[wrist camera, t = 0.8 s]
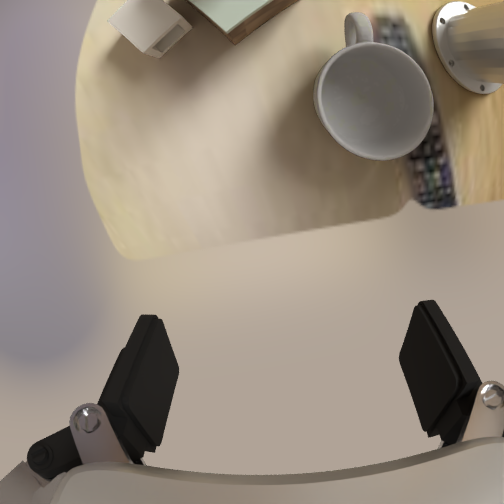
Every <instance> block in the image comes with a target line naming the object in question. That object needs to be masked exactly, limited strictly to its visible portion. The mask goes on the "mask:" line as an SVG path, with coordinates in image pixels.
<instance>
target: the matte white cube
mask: <svg viewBox="0 0 504 504" xmlns="http://www.w3.org/2000/svg"><path fill="white" fill-rule="evenodd" d="M107 22H109V23H110V24H111V25H112V26H113V27H114V28H115V29H117V30H118V31H119V32H120V33H121V34H122V35H123V36H125V37H126V38H127V39H128V40H129V41H130V42H131V43H132V44H133V45H135V46H136V47H137V48H138V49H139V50H140V51H141V52H142V53H144V54H147V55H150V56H152V57H155V58H158V59H159V58H160V57H161V56H162V55H163V54H165V53H166V52H167V51H168V50H169V49H170V48H171V47H172V46H173V45H174V44H175V43H176V42H177V41H178V40H180V39H181V38H182V37H183V36H184V35H185V34H186V33H187V32H189V31H190V30H191V29H192V28H193V27H192V26H191V25H190V24H189V23H188V22H187V21H186V20H185V19H184V18H183V17H182V16H181V15H180V14H179V13H178V12H176V11H175V10H174V9H173V8H172V7H170V6H169V5H168V4H167V3H165V2H164V1H163V0H127V1H126V2H125V3H124V4H123V5H122V6H121V7H120V8H119V9H118V10H117V11H116V12H115V13H114V14H113V15H112V16H111V17H110V18H109V19H108V20H107Z"/></svg>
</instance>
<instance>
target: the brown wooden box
mask: <svg viewBox="0 0 504 504" xmlns="http://www.w3.org/2000/svg"><path fill="white" fill-rule="evenodd" d="M185 1H186V2H187V3H189V4H190V5H191V6H192V7H193V8H195V9H196V10H197V11H198V12H199V13H201V14H202V15H203V16H204V17H205V18H206V19H207V20H209V21H210V22H211V23H212V24H213V25H214V26H215V27H216V28H218V29H219V30H220V31H221V32H222V33H223V34H224V35H225V36H226V37H227V38H228V39H229V40H231V41H232V42H233V43H234V44H235V45H236V44H237V43H239V42H240V41H241V40H243V39H244V38H245V37H246V36H248V35H249V34H250V33H252V32H253V31H254V30H256V29H257V28H258V27H260V26H261V25H262V24H264V23H265V22H267V21H268V20H269V19H271V18H272V17H274V16H275V15H277V14H278V13H280V12H281V11H283V10H284V9H285V8H287V7H289V6H290V5H292V4H293V3H295V2H296V1H298V0H273V1H272V2H270V3H269V4H267V5H266V6H264V7H263V8H261V9H260V10H259V11H257V12H256V13H254V14H253V15H252V16H250V17H249V18H247V19H246V20H245V21H243V22H242V23H241V24H239V25H238V26H237V27H236V28H234V29H233V30H232V31H230V32H229V33H228V34H227V33H226V32H224V31H223V30H222V29H221V28H220V27H219V26H218V25H217V24H216V23H214V22H213V21H212V20H211V19H210V18H209V17H208V16H207V15H205V14H204V13H203V12H202V11H201V10H200V9H198V8H197V7H196V6H195V5H194V4H192V3H191V2H190V1H189V0H185Z"/></svg>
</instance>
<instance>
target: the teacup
mask: <svg viewBox="0 0 504 504" xmlns="http://www.w3.org/2000/svg"><path fill="white" fill-rule="evenodd" d="M344 27H345V42H346V48H344V49H342V50H340V51H338V52H337V53H336V54H334V55H333V56H332V57H331V58H330V59H329V60H328V61H327V62H326V63H325V65H324V66H323V67H322V68H321V70H320V72H319V73H318V75H317V78H316V80H315V84H314V90H313V100H314V106H315V110H316V113H317V115H318V117H319V119H320V121H321V123H322V124H323V126H324V127H325V129H326V130H327V131H328V132H329V133H330V135H331V136H332V137H333V138H334V140H335V141H336V142H337V143H339V144H340V145H341V146H342V147H343V148H345V149H346V150H347V151H349V152H351V153H353V154H355V155H357V156H360V157H362V158H366V159H371V160H379V161H386V160H392V159H396V158H399V157H402V156H404V155H406V154H408V153H410V152H411V151H412V150H414V149H415V148H416V147H417V146H418V145H419V144H420V143H421V142H422V140H423V139H424V138H425V136H426V134H427V133H428V131H429V128H430V125H431V122H432V118H433V112H434V101H433V96H432V91H431V87H430V85H429V82H428V80H427V78H426V76H425V74H424V72H423V70H422V69H421V68H420V67H419V66H418V64H417V63H416V62H415V61H414V60H413V59H412V58H411V57H410V56H408V55H407V54H405V53H404V52H403V51H401V50H399V49H397V48H395V47H392V46H389V45H386V44H381V43H376V42H373V30H372V26H371V23H370V21H369V19H368V17H367V16H366V15H365V14H363V13H359V12H354V13H349V14H348V15H347V16H346V18H345V23H344Z"/></svg>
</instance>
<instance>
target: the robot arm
mask: <svg viewBox="0 0 504 504" xmlns="http://www.w3.org/2000/svg"><path fill="white" fill-rule="evenodd" d="M432 34H433V41H434V44H435V48H436V51H437V53H438V56H439V58H440V60H441V62H442V64H443V66H444V67H445V69H446V70H447V72H448V73H449V74H450V76H451V77H452V78H453V79H454V80H455V81H456V82H457V83H458V84H460V85H461V86H462V87H463V88H465V89H467V90H469V91H471V92H474V93H479V94H489V93H492V92H495V91H496V90H497V89H499V88H500V86H501V85H502V84H504V1H503V2H498V3H494V4H489V5H485V6H481V7H477V8H476V7H474V6H473V5H471V4H468V3H466V2H461V1H453V2H449V3H446V4H445V5H443V6H441V7H440V8H439V9H438V10H437V12H436V14H435V16H434V19H433V24H432ZM399 361H400V365H401V368H402V370H403V373H404V376H405V379H406V381H407V384H408V387H409V390H410V393H411V396H412V399H413V402H414V405H415V408H416V411H417V413H418V417H419V420H420V423H421V426H422V429H423V431H425V432H426V431H427V434H428V437H433V436H436V435H439V434H440V437H441V443H440V445H439V447H438V449H437V450H433V451H429V452H426V453H422V454H418V455H414V456H411V457H407V458H402V459H398V460H393V461H389V462H384V463H379V464H374V465H368V466H362V467H356V468H350V469H342V470H335V471H326V472H316V473H303V474H286V475H231V474H230V475H229V474H213V473H201V472H191V471H181V470H173V469H165V468H158V467H151V466H147V465H146V464H145V462H144V461H143V459H142V457H143V456H144V452H145V451H148V452H155V450H156V446H160V444H161V442H162V438H163V433H164V430H165V426H166V421H167V418H168V413H169V410H170V406H171V402H172V398H173V394H174V390H175V386H176V382H177V379H178V375H179V366H178V363H177V360H176V358H175V355H174V352H173V350H172V347H171V344H170V341H169V338H168V335H167V332H166V329H165V327H164V324H163V321H162V319H158V317H157V316H156V315H141V316H140V317H139V319H138V321H137V323H136V325H135V327H134V330H133V332H132V334H131V336H130V338H129V340H128V342H127V344H126V347H125V348H123V349H122V350H121V352H120V354H119V356H118V358H117V360H116V362H115V364H114V367H113V369H112V371H111V373H110V376H109V378H108V380H107V382H106V385H105V387H104V389H103V392H102V394H101V396H100V399H99V401H98V404H94V403H86V404H83V405H81V406H79V407H77V408H76V410H75V411H73V413H72V415H71V417H70V421H69V423H70V426H68V427H66V428H64V429H62V430H60V431H58V432H56V433H55V434H52V435H50V436H48V437H46V438H44V439H42V440H40V441H38V442H36V443H35V444H33V445H32V446H31V447H30V449H29V451H28V454H27V462H26V463H25V462H24V461H22V462H21V463H20V464H18V465H17V466H16V467H15V468H14V469H13V470H12V471H11V472H10V473H9V474H8V475H6V476H5V477H4V478H3V479H2V480H1V481H0V504H504V386H503V385H502V384H500V383H498V382H496V381H487V382H485V383H483V384H482V382H481V380H480V378H479V376H478V374H477V372H476V370H475V368H474V366H473V364H472V362H471V361H470V359H469V357H468V355H467V353H466V352H465V350H464V348H463V346H462V344H461V343H460V341H459V339H458V337H457V336H456V334H455V332H454V331H453V329H452V327H451V326H450V324H449V322H448V321H447V319H446V317H445V316H444V315H443V313H442V311H441V309H440V308H439V306H438V305H437V303H436V302H435V301H434V300H427V301H420V302H419V303H418V305H417V306H415V307H414V310H413V314H412V317H411V320H410V324H409V327H408V330H407V333H406V337H405V339H404V342H403V345H402V348H401V351H400V355H399Z"/></svg>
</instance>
